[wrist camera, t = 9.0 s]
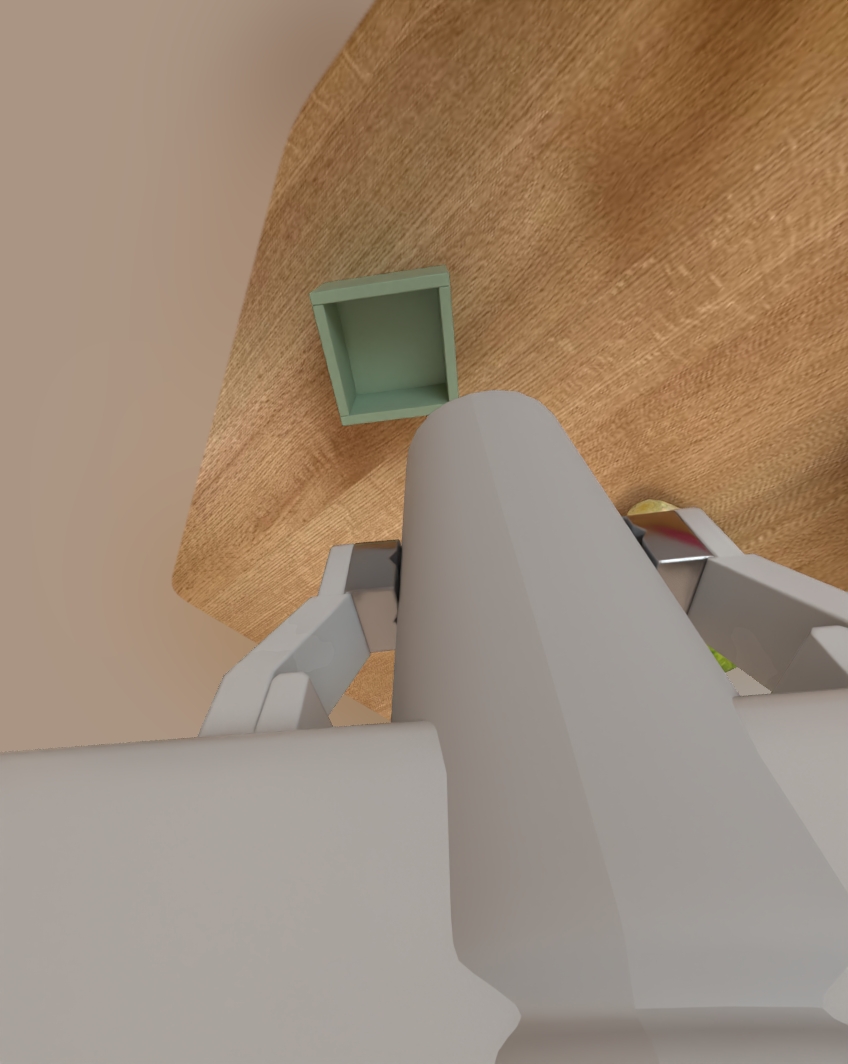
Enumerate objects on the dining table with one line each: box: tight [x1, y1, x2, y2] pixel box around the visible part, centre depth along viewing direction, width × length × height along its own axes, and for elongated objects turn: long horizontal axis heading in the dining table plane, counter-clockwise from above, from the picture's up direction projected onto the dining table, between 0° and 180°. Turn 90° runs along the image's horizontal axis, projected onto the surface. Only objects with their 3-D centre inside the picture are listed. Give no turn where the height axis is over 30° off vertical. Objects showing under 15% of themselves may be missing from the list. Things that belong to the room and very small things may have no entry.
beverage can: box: [391, 390, 848, 1064], centre depth 8 cm, size 5×5×12 cm
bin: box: [309, 265, 459, 426], centre depth 33 cm, size 10×10×6 cm
